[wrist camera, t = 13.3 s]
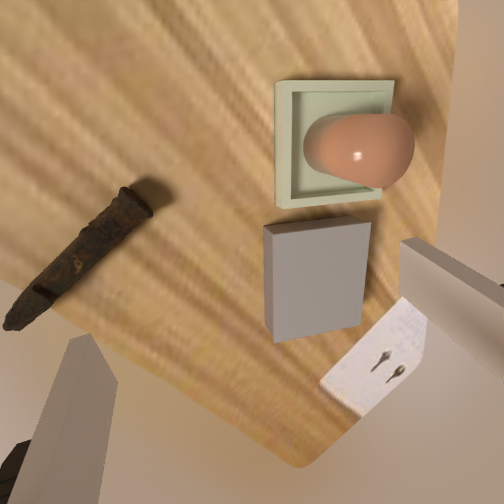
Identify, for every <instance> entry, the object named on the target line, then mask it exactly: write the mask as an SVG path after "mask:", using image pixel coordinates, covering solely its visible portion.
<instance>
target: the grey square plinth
mask: <svg viewBox="0 0 504 504" xmlns="http://www.w3.org/2000/svg"><path fill="white" fill-rule="evenodd" d="M370 231H371V222H364V221H361V220H359V219H357V218H355V217H352V216H342V217H334V218H326V219H317V220H309V221H300V222H292V223H283V224H275V225H266V226H263V239H264V293H265V325H266V326H267V328H268V330H269V331H270V333H271V335H272V336H273V342H274V343H279V342H283V341H288V340H293V339H297V338H302V337H306V336H311V335H316V334H320V333H325V332H329V331H334V330H339V329H343V328H348V327H352V326H357V325H360V324H361V315H362V306H363V296H364V287H365V278H366V268H367V259H368V249H369V240H370Z"/></svg>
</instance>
